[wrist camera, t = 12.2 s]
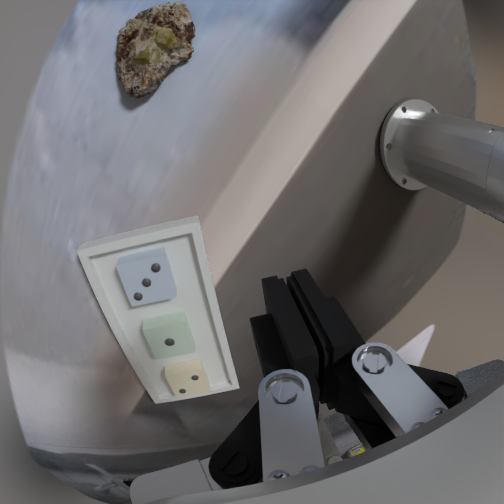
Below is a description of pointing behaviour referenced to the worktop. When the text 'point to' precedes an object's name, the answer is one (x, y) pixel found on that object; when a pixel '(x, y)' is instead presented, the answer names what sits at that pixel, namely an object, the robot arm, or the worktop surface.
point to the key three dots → (147, 276)
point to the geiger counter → (327, 443)
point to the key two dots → (187, 378)
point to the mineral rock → (153, 46)
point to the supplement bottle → (355, 451)
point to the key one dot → (169, 335)
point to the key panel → (163, 303)
